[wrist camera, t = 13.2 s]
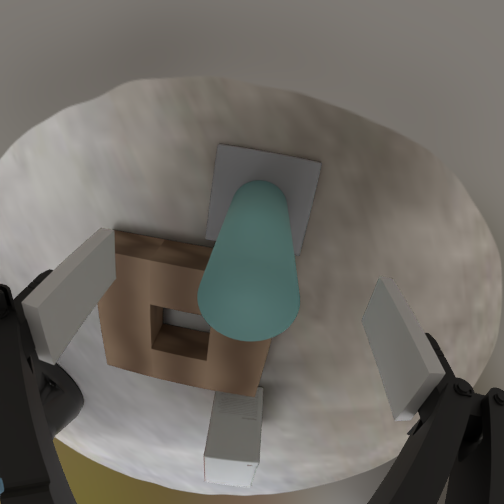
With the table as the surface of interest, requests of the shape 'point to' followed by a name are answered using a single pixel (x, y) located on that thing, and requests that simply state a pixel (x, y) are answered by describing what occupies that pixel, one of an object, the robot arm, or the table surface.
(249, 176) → the mat
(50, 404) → the robot arm
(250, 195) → the plug
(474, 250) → the table surface
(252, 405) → the small box
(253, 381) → the wooden block with hole
